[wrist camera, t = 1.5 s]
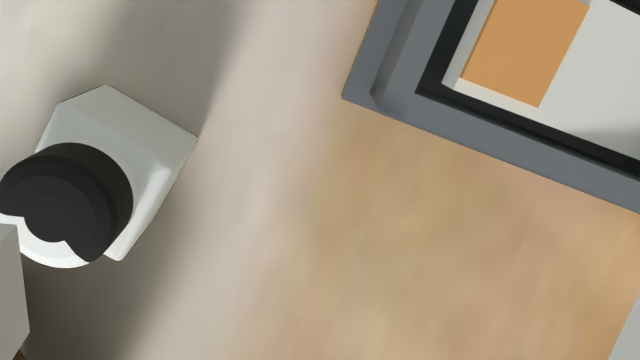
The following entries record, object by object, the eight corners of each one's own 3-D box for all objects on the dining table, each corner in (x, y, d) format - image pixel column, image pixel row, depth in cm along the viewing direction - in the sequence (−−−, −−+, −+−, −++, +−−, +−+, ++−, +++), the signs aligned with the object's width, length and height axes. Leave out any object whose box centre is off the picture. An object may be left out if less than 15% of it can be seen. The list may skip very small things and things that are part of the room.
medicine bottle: (105, 81, 37) (8, 119, 26) (200, 137, 38) (148, 197, 27) (61, 169, 39) (-47, 240, 28) (153, 219, 40) (86, 308, 29)
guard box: (745, 14, 36) (842, 18, 29) (630, 206, 40) (692, 249, 33) (428, -126, 33) (455, -157, 27) (340, 94, 37) (344, 116, 31)
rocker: (690, 46, 33) (716, 52, 31) (628, 154, 35) (649, 164, 33) (500, -47, 28) (519, -46, 27) (441, 83, 30) (455, 91, 29)
